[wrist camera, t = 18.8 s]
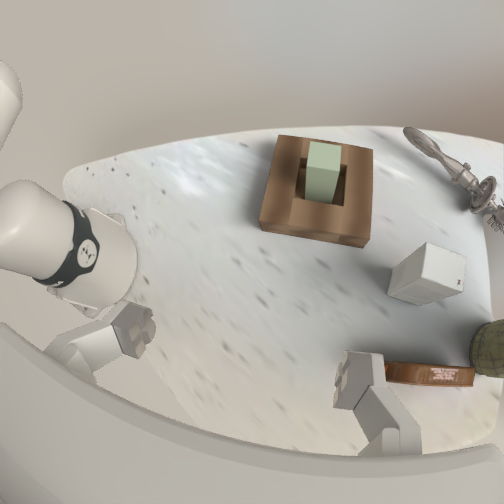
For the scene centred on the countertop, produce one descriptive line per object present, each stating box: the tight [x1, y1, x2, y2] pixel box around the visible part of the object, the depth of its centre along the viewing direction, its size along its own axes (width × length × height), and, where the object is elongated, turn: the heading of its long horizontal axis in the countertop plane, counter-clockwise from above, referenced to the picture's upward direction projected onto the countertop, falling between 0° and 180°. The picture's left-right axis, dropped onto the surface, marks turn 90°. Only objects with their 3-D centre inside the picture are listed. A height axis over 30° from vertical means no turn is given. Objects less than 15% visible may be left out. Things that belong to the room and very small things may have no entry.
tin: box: [384, 361, 475, 387], centre depth 27 cm, size 15×3×8 cm, turn 76°
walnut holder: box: [259, 135, 373, 248], centre depth 39 cm, size 15×15×4 cm
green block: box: [305, 141, 341, 204], centre depth 36 cm, size 4×4×9 cm
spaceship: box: [403, 127, 504, 234], centre depth 33 cm, size 8×35×8 cm
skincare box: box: [387, 242, 466, 306], centre depth 30 cm, size 6×4×12 cm
